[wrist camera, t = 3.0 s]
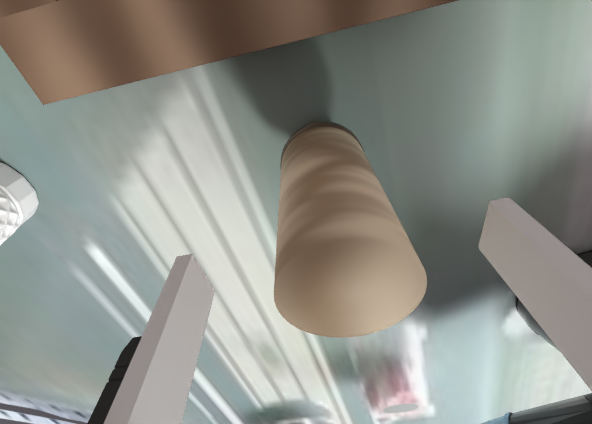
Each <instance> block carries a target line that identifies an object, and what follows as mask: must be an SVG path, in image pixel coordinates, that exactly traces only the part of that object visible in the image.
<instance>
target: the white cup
mask: <svg viewBox="0 0 592 424" xmlns="http://www.w3.org/2000/svg"><path fill="white" fill-rule="evenodd" d="M38 204H39V202H38V198H37V195H36V191H35V189H34V188H33V187H32V186H31V185H30V183H29V182H28V181H27V180H26V179H25V178H24V176H22V175H21V174H19V173H18V172H16V171H15V170H13V169H12V168H10V167H9V166H8V165H6V164H3V163H1V162H0V245H1V244H2V243H3V242H4V241H5V240H7V239H8V238H9V237H10V236H11V235H12V234H13V233H14V232H15V231H16V229H17V228H18V227H19V226H20V225H22V224H23V223H24V222H25V221H26V220H27V219H29V218H30V217H31V216H32V215H33V214H34V213H35V211H36V209H37V207H38Z"/></svg>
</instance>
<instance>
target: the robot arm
mask: <svg viewBox="0 0 592 424" xmlns="http://www.w3.org/2000/svg"><path fill="white" fill-rule="evenodd" d="M478 248H479V250H480V251H481V252H482V253H483V255H484V256H485V257H486V258H487V260H488V261H489V262H490V263H491V265H492V266H493V267H494V268H495V270H496V271H497V272H498V273H499V275H500V276H501V277H502V279H503V280H504V281H505V282H506V284H507V285H508V286H509V287H510V289H511V290H512V291H513V292H514V294H515V295H516V296H517V297H518V299H519V300H518V304H517V309H518V312H519V314H520V315H521V317H522V318H523V319H524V321H525V322H526V323H527V325H528V326H529V327H530V328H531V329H532V330H533V331H534V332H535V333H537V334H538V335H540V336H541V337H543V338H544V339H545V340H546V341H547V342H549V343H550V344H551V345H552V346H554V347H555V348H556V349H557V350H559V351H560V352H561V353H562V354H563V355H564V357H565V358H566V359H567V360H568V362H569V363H570V364H571V366H572V367H573V368H574V369H575V371H576V372H577V373H578V374H579V376H580V377H581V378H582V379H583V381H584V382H585V383H586V384H587V386H588V387H589V388H590V389H591V391H592V251H591V252H588V253H584V254H581V255H578V256H577V255H576V254H575V253H574V252H572V251H571V250H570V249H569V248H568V247H567V246H565V245H564V244H563V243H562V242H561V241H560V240H558V239H557V238H556V237H555V236H554V235H553V234H551V233H550V232H549V231H548V230H547V229H546V228H544V227H543V226H542V225H541V224H540V223H539V222H537V221H536V220H535V219H534V218H533V217H532V216H530V215H529V214H528V213H527V212H526V211H525V210H523V209H522V208H521V207H520V206H519V205H518V204H516V203H515V202H514V201H513V200H512V199H511V198H509V197H507V198H501V199H496V200H490V201H489V205H488V209H487V213H486V217H485V221H484V225H483V230H482V234H481V238H480V242H479V246H478ZM214 292H215V290H214V288H213V287H212V285H211V284H210V282H209V280H208V279H207V277H206V275H205V274H204V272H203V270H202V269H201V267H200V265H199V264H198V262H197V261H196V259H195V257H194V256H193V254H189V255H183V256H178V257H177V258H176V260H175V262H174V264H173V267H172V269H171V271H170V274H169V276H168V278H167V280H166V283H165V285H164V287H163V290H162V292H161V294H160V296H159V299H158V301H157V303H156V305H155V308H154V310H153V312H152V315H151V317H150V319H149V321H148V324H147V326H146V328H145V331H144V333H143V335H142V336H141V337H134V338H132V340H131V341H130V342H129V343H128V345H127V346H126V347H125V348H124V350H123V351H122V352H121V354H120V357H119V359H118V361H117V363H116V365H115V369H114V370H113V371H112V373H111V375H110V377H109V382H108V383H107V384H106V386H105V388H104V390H103V392H102V394H101V396H100V398H99V401H98V403H97V405H96V407H95V409H94V411H93V413H92V415H91V417H90V419H89V421H88V424H181V423H182V419H183V415H184V411H185V407H186V403H187V399H188V395H189V391H190V387H191V383H192V379H193V375H194V371H195V367H196V364H197V360H198V356H199V352H200V348H201V344H202V340H203V336H204V332H205V328H206V324H207V320H208V316H209V312H210V308H211V304H212V300H213V296H214ZM482 424H592V393H591V394H587V395H584V396H583V395H582V396H578V397H575V398H571V399H567V400H563V401H559V402H555V403H551V404H547V405H543V406H539V407H535V408H532V409H528V410H524V411H520V412H516V413H512V412H511V413H510V412H508V413H506V414H505V416H502V417H499V418H496V419H493V420H490V421H487V422H484V423H482Z"/></svg>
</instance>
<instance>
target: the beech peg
mask: <svg viewBox="0 0 592 424" xmlns="http://www.w3.org/2000/svg"><path fill="white" fill-rule="evenodd" d="M426 288H427V275H426V271H425V269H424V267H423V265H422V263H421V261H420V259H419V257H418V255H417V253H416V251H415V250H414V248H413V246H412V244H411V242H410V240H409V238H408V236H407V234H406V232H405V230H404V228H403V226H402V225H401V223H400V221H399V219H398V217H397V215H396V213H395V211H394V209H393V207H392V205H391V203H390V202H389V200H388V198H387V196H386V194H385V192H384V190H383V188H382V186H381V184H380V182H379V180H378V179H377V177H376V175H375V173H374V171H373V169H372V167H371V165H370V163H369V161H368V159H367V157H366V155H365V154H364V151H363V148H362V146H361V144H360V142H359V140H358V139H357V138H356V136H355V135H354V134H353V133H352V132H351V131H350V130H348V129H347V128H345V127H344V126H341V125H339V124H336V123H331V122H312V123H310V124H308V125H306V126H305V127H303V128H301V129H299V130H298V131H297V132H295V133H294V134H293V135H292V136H291V137H290V139H289V140H288V141H287V143H286V145H285V146H284V149H283V152H282V156H281V180H280V197H279V215H278V232H277V249H276V266H275V284H274V301H275V304H276V307H277V309H278V311H279V313H280V314H281V315H282V316H283V318H285V319H286V320H287V321H288V322H289V323H290V324H292V325H293V326H295V327H297V328H299V329H301V330H303V331H306V332H308V333H312V334H315V335H320V336H327V337H355V336H361V335H367V334H371V333H374V332H377V331H381V330H383V329H386V328H388V327H390V326H392V325H394V324H396V323H398V322H399V321H401V320H403V319H404V318H405V317H407V316H408V315H409V314H410V313H411V312H413V311H414V310H415V309H416V307H417V306H418V305H419V304H420V302H421V300H422V299H423V297H424V295H425V292H426Z"/></svg>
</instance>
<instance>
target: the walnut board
mask: <svg viewBox="0 0 592 424" xmlns="http://www.w3.org/2000/svg"><path fill="white" fill-rule="evenodd" d="M454 1H458V0H0V45H1V46H2V48H3V49H4V51H5V52H6V53H7V55H8V56H9V58H10V59H11V60H12V62H13V63H14V65H15V66H16V67H17V69H18V70H19V71H20V73H21V74H22V76H23V77H24V78H25V80H26V81H27V83H28V84H29V85H30V87H31V88H32V90H33V91H34V92H35V94H36V95H37V97H38V98H39V99H40V101H41V102H42V104H43V105H44V104H48V103H52V102H56V101H60V100H64V99H68V98H72V97H76V96H80V95H84V94H88V93H92V92H96V91H100V90H104V89H108V88H112V87H116V86H120V85H124V84H127V83H131V82H135V81H139V80H143V79H147V78H151V77H155V76H159V75H163V74H167V73H171V72H175V71H179V70H183V69H187V68H191V67H195V66H199V65H203V64H207V63H211V62H215V61H219V60H223V59H227V58H231V57H235V56H239V55H243V54H247V53H251V52H255V51H259V50H263V49H267V48H271V47H275V46H279V45H283V44H287V43H291V42H295V41H299V40H303V39H306V38H310V37H314V36H318V35H322V34H326V33H330V32H334V31H338V30H342V29H346V28H350V27H354V26H358V25H362V24H366V23H370V22H374V21H378V20H382V19H386V18H390V17H394V16H398V15H402V14H406V13H410V12H414V11H418V10H422V9H426V8H430V7H434V6H438V5H442V4H446V3H450V2H454Z"/></svg>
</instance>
